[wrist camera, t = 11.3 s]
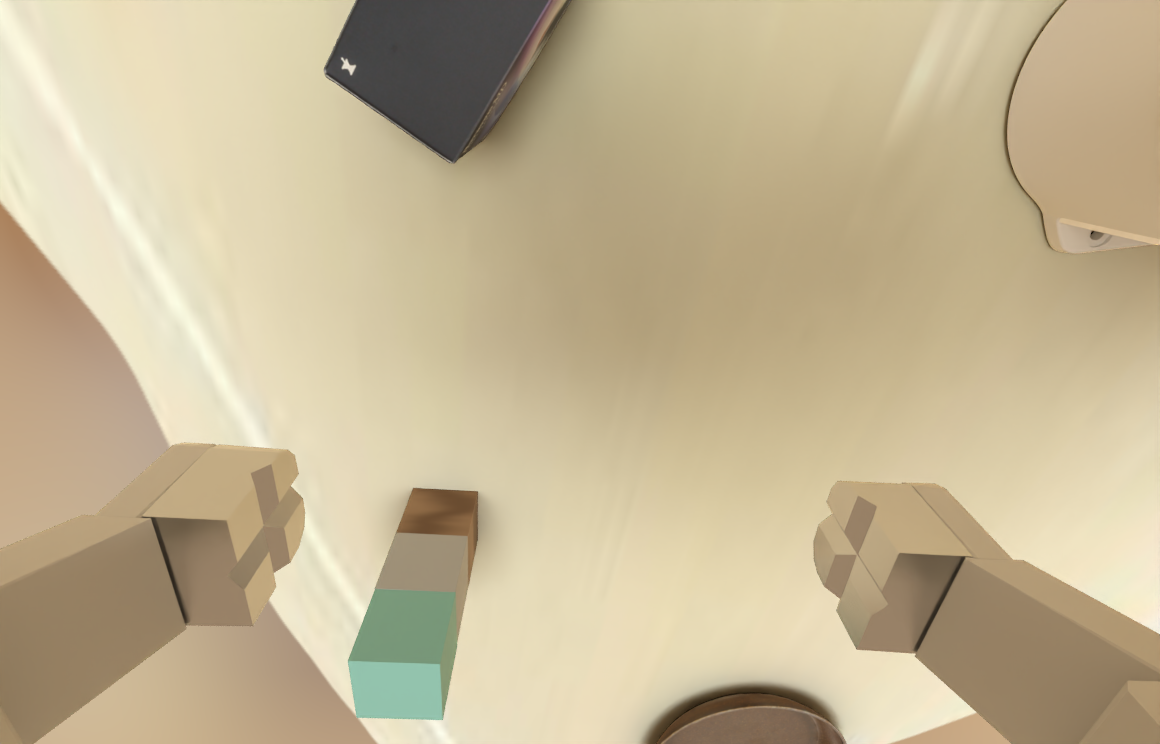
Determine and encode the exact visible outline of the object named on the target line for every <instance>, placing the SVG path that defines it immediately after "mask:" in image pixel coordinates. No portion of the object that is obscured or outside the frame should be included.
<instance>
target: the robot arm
mask: <svg viewBox="0 0 1160 744" xmlns="http://www.w3.org/2000/svg"><path fill="white" fill-rule="evenodd" d="M1007 141H1008V150H1009V156H1010V160H1011V164H1012V167H1013V170H1014V172H1015V175H1016V177H1017V179H1018V180H1019V182H1020V184H1021V185H1022V187H1023V188H1024V190H1025V191H1026V192H1027V193H1028V194H1029V195H1030V197H1031V198H1032V199H1033V200H1034V201H1035V202H1036V203H1037V205H1038V206H1039V208H1040V209H1041V211H1042V213H1043V219H1044V226H1045V232H1046V236H1047V239H1048V242H1049V244H1050V246H1051V247H1052V248H1053V249H1054V250H1056V251H1059V252H1065V253H1070V254H1079V253H1088V252H1097V251H1105V250H1114V249H1122V248H1131V247H1140V246H1148V245H1159V246H1160V0H1067V1H1066V2H1065V3H1064V4H1063V5H1062V6H1061V8H1060V9H1059V10H1058V11H1057V12H1056V14H1055V15H1054V16H1053V17H1052V19H1051V20H1050V21H1049V23H1048V24H1047V25H1046V27H1045V28H1044V30H1043V31H1042V33H1041V34H1040V36H1039V37H1038V39H1037V41H1036V42H1035V44H1034V46H1033V47H1032V49H1031V51H1030V53H1029V55H1028V57H1027V59H1026V61H1025V63H1024V65H1023V67H1022V70H1021V72H1020V75H1019V77H1018V80H1017V83H1016V86H1015V89H1014V92H1013V96H1012V100H1011V104H1010V109H1009V116H1008V126H1007ZM1092 230H1094V233H1093V234H1092V235H1091V236H1090V234H1091V232H1092ZM298 474H299V473H298V468H297V463H296V459H295V455H294V454H293V453H291V452H290V451H289V450H285V449H272V448H259V447H246V446H233V445H215V444H203V443H185V442H184V443H180V444H175V445H172V446H171V447H170V448H169V449H168V450H167V451H166V452H165V453H164V454H163V455H161V456H160V457H159V458H158V459H157V460H156V461H155V462H154V463H152V464H151V466H149V467H148V468H147V469H146V470H145V471H144V472H142V473H141V474H140V475H139V476H138V477H137V478H136V479H135V480H134V481H132V482H131V483H130V484H129V485H128V486H127V487H126V488H125V489H124V490H122V491H121V492H120V493H119V494H118V495H117V496H116V497H115V498H114V499H113V500H111V501H110V502H109V503H108V504H107V505H106V506H105V507H104V508H102V510H100V511H99V512H98V513H97V514H96V515H81V516H78V517H76V518H74V519H71V520H69V521H66V522H64V523H61V524H59V525H57V526H54V527H52V528H49V529H47V530H44V531H42V532H40V533H37V534H35V535H33V536H30V537H28V538H25V539H23V540H20V541H18V542H15V543H13V544H11V545H8V546H6V547H3V548H1V549H0V744H34V743H35V742H36V741H38V740H39V739H40V738H42V737H43V736H44V735H46V734H47V733H48V732H50V731H51V730H52V729H54V728H55V727H56V726H58V725H59V724H60V723H62V722H63V721H64V720H66V719H67V718H68V717H70V716H71V715H72V714H74V713H75V712H76V711H78V710H79V709H80V708H82V707H83V706H84V705H86V704H87V703H88V702H90V701H91V700H92V699H94V698H95V697H96V696H98V695H99V694H100V693H102V692H103V691H104V690H106V689H107V688H108V687H110V686H111V685H112V684H114V683H115V682H116V681H118V680H119V679H120V678H122V677H123V676H124V675H125V674H127V673H128V672H130V671H131V670H132V669H134V668H135V667H136V666H138V665H139V664H140V663H142V662H143V661H144V660H146V659H147V658H148V657H150V656H151V655H152V654H154V653H155V652H156V651H158V650H159V649H160V648H162V647H163V646H164V645H166V644H167V643H168V642H170V641H171V640H172V639H174V638H175V637H176V636H178V635H179V634H180V633H182V632H183V631H184V630H185V629H186V625H201V626H203V625H204V626H253V625H254V624H255V622H256V620H257V619H258V617H259V615H260V614H261V612H262V610H263V608H264V606H265V605H266V603H267V602H268V600H269V598H270V597H271V595H272V593H273V592H274V590H275V588H276V583H275V578H274V572H276V571H278V570H279V569H281V568H282V567H284V566H285V565H287V564H289V563H290V562H291V560H292V559H293V557H294V555H295V553H296V551H297V550H298V548H299V545H300V541H301V538H302V534H303V530H304V524H305V509H304V502H303V498H302V497H301V496H300V495H299V494H298V493H297V492H296V491H295V490H294V489H293V488H292V487H291V485H292V483H293V482H294V480H295V479H296V477H297V476H298ZM827 504H828V506H829V508H830V510H831V512H832V514H831V515H830V516H829V517H827V518H826V519H825V520H824V521H822V522H821V523H820V524H819V525H818V528H817V532H816V535H815V538H814V562H815V566H816V570H817V573H818V575H819V577H820V579H821V581H822V583H823V585H824V587H826V588H827V589H828V590H830V591H831V592H832V593H833V594H835V595H836V596H837V597H839V598H840V601H839V604H838V607H837V610H836V611H837V613H838V615H839V617H840V618H841V620H842V622H843V624H844V626H845V628H846V630H847V632H848V634H849V636H850V638H851V640H852V642H853V643H854V645H855V647H856V649H857V650H871V651H886V652H900V653H915V654H916V655H915V657H916V658H917V659H918V660H919V661H921V662H922V663H923V664H924V665H925V666H926V667H927V668H928V669H929V670H931V671H932V672H933V673H934V674H935V675H936V676H937V677H938V678H939V679H941V680H942V681H943V682H944V683H945V684H946V685H947V686H948V687H949V688H950V689H952V690H953V691H954V692H955V693H956V694H957V695H958V696H959V697H960V698H962V699H963V700H964V701H965V702H966V703H967V704H968V705H969V706H970V707H972V708H973V709H974V710H975V711H976V712H977V713H978V714H979V715H980V716H982V717H983V718H984V719H985V720H986V721H987V722H988V723H989V724H990V725H991V726H993V727H994V728H995V729H996V730H997V731H998V732H999V733H1000V734H1001V735H1003V736H1004V737H1005V738H1006V739H1007V740H1008V741H1009V742H1010V743H1011V744H1160V634H1158V633H1156V632H1155V631H1153V630H1151V629H1149V628H1147V627H1145V626H1143V625H1142V624H1140V623H1138V622H1136V621H1134V620H1132V619H1131V618H1129V617H1127V616H1125V615H1123V614H1121V613H1120V612H1118V611H1116V610H1114V609H1112V608H1110V607H1108V606H1107V605H1105V604H1103V603H1101V602H1099V601H1097V600H1096V599H1094V598H1092V597H1090V596H1088V595H1086V594H1085V593H1083V592H1081V591H1079V590H1077V589H1075V588H1073V587H1072V586H1070V585H1068V584H1066V583H1064V582H1062V581H1061V580H1059V579H1057V578H1055V577H1053V576H1051V575H1050V574H1048V573H1046V572H1044V571H1042V570H1040V569H1039V568H1037V567H1035V566H1033V565H1031V564H1029V563H1027V562H1026V561H1024V560H1013V559H1012V558H1011V557H1010V556H1009V555H1008V554H1007V553H1006V552H1005V551H1004V550H1003V549H1002V548H1001V547H1000V546H999V545H998V543H997V542H996V541H995V540H994V539H993V538H992V537H991V536H990V535H989V534H988V533H987V532H986V531H985V530H984V529H983V528H982V527H981V526H980V524H979V523H978V522H977V521H976V520H975V519H974V518H973V517H972V516H971V515H970V514H969V513H968V512H967V511H966V510H965V509H964V508H963V506H962V505H961V504H960V503H959V502H958V501H957V500H956V499H955V498H954V497H953V496H952V495H951V494H950V493H949V492H948V491H947V490H946V489H945V488H943V487H941V486H939V485H937V484H930V483H902V484H897V483H875V482H853V481H837V483H836V484H835V485H834V486H833V487H832V488H831V491H830V494H829V496H828V499H827Z"/></svg>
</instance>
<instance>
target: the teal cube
mask: <svg viewBox="0 0 1160 744" xmlns="http://www.w3.org/2000/svg"><path fill="white" fill-rule="evenodd" d="M456 649H457V620H456V592H437V591H412V590H388V589H375V591H374V594H373V596H372V599H371V602H370V604H369V607H368V609H367V612H366V615H365V617H364V620H363V623H362V625H361V628H360V630H359V633H358V636H357V638H356V641H355V644H354V646H353V649H352V652H351V654H350V657H349V659H348V665H349V671H350V678H351V684H352V690H353V697H354V703H355V710H356V716H357V718H392V719H426V720H443V715H444V710H445V705H446V700H447V695H448V690H449V685H450V680H451V675H452V670H453V665H454V659H455V654H456Z"/></svg>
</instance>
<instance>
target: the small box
mask: <svg viewBox="0 0 1160 744" xmlns="http://www.w3.org/2000/svg"><path fill="white" fill-rule="evenodd" d="M570 1H571V0H356V1H355V4H354V6H353V8H352V10H351V12H350V14H349V16H348V18H347V20H346V22H345V24H344V27H343V29H342V31H341V33H340V35H339V37H338V39H337V42H336V44H335V46H334V48H333V51H332V53H331V55H330V57H329V59H328V61H327V63H326V65H325V67H324V73H325V76H326V77H327V78H328V79H329V80H331V81H333V82H334V83H336V84H337V85H339V86H340V87H342V88H343V89H344V90H346V91H348V92H349V93H350V94H352V95H353V96H355V97H356V98H357V99H359V100H360V101H362V102H363V103H365V104H366V105H367V106H369V107H370V108H371V109H373V110H374V111H376V112H377V113H379V114H380V115H382V116H383V117H385V118H386V119H388V120H389V121H391V122H392V123H393V124H395V125H396V126H397V127H398V128H400V129H402V130H403V131H404V132H406V133H407V134H409V135H410V136H412V137H413V138H414V139H416V140H417V141H419V142H420V143H422V144H423V145H425V146H426V147H427V148H428V149H430V150H431V151H433V152H435V153H436V154H437V155H439V156H440V157H441V158H443V159H444V160H446V161H447V162H449V163H453V164H454V163H455V162H456V161H457V160H458V159H459V158H461V157H462V156H463V155H465V154H466V153H467V152H468V151H470V150H471V149H472V148H473V147H475V146H476V145H477V144H479V143H480V142H482V141H483V140H484V139H485V137H486V136H487V135H488V133H489V132H490V131H491V129H492V128H493V127H494V125H495V124H496V123H497V121H498V119H499V118H500V116H501V114H502V113H503V111H504V110H505V108H506V107H507V105H508V104H509V102H510V101H511V99H512V97H513V96H514V94H515V92H516V91H517V89H518V88H519V86H520V84H521V83H522V81H523V80H524V78H525V76H526V75H527V73H528V72H529V70H530V69H531V67H532V66H533V64H534V62H535V61H536V59H537V57H538V56H539V54H540V52H541V51H542V49H543V47H544V46H545V44H546V42H547V40H548V39H549V37H550V35H551V34H552V32H553V30H554V29H555V27H556V25H557V24H558V22H559V20H560V19H561V17H562V15H563V13H564V12H565V10H566V8H567V7H568V5H569V3H570Z"/></svg>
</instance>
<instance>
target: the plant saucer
mask: <svg viewBox="0 0 1160 744" xmlns="http://www.w3.org/2000/svg"><path fill="white" fill-rule="evenodd" d="M656 744H846V741H845V739H844V737H843V736H842V734H841V733H840V732H839V730H838V729H837V728H836V727H835V726H834V725H833V724H831V723H830V722H829V721H828V720H827V719H826V718H824V717H823V716H822V715H820V714H819V713H817V712H815V711H814V710H812V709H810V708H809V707H807V706H805V705H803V704H800V703H798V702H796V701H793V700H790V699H788V698H784V697H780V696H776V695H769V694H759V693H746V694H736V695H729V696H725V697H720V698H717V699H713V700H711V701H708V702H705V703H703V704H700V705H698V706H696V707H694V708H692V709H691V710H689V711H687V712H686V713H684V714H683V715H681V716H680V717H679V718H678V719H677V720H675V721H674V722H673V723H672V724H671V725H670V726H669V727H668V728H667V729H666V731H665V732H664V733H663V734H662V736H661V737H660V739H659V740H658V741H657V743H656Z"/></svg>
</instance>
